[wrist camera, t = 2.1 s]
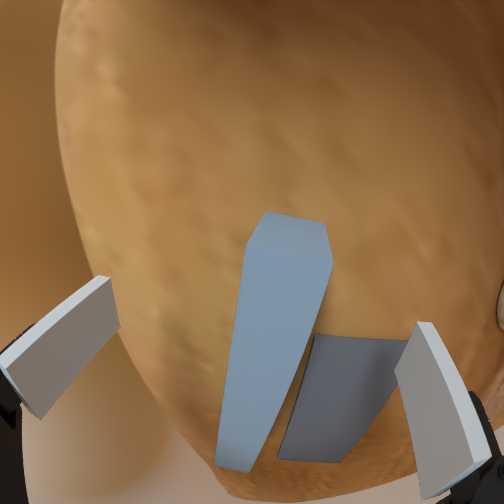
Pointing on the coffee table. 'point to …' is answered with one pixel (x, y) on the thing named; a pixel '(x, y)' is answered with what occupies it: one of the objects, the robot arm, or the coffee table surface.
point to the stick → (270, 330)
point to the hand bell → (501, 309)
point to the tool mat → (339, 396)
